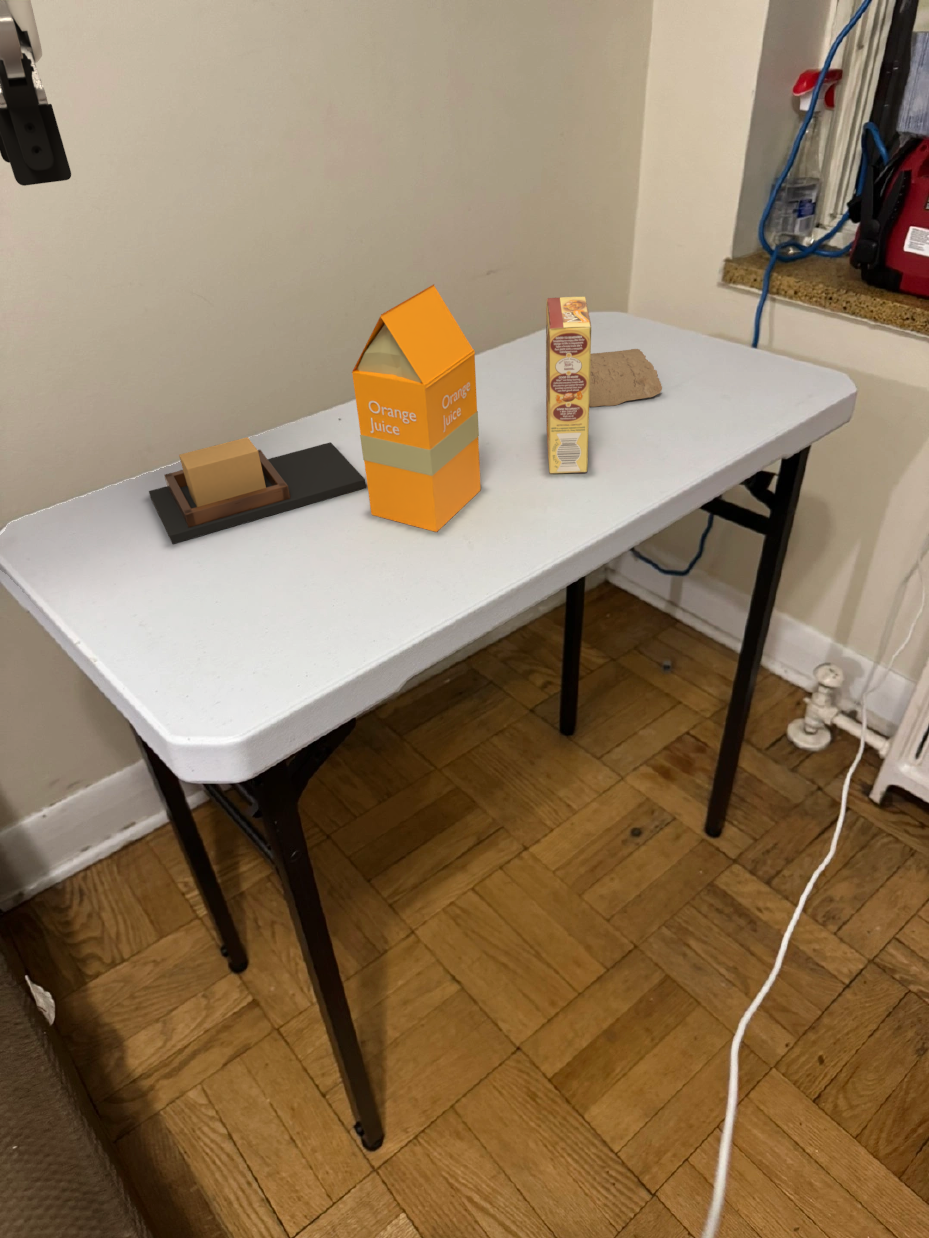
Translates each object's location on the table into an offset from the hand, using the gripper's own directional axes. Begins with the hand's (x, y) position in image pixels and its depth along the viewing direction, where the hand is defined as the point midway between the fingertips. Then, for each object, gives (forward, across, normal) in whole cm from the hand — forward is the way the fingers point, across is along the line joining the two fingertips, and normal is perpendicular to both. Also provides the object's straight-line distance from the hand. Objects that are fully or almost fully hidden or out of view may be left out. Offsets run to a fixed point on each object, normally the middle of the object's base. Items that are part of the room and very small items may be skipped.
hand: (36, 170), depth 56 cm
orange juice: (+33, -1, +26) cm, 42 cm away
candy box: (+33, -2, +43) cm, 54 cm away
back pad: (+33, -12, +12) cm, 37 cm away
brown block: (+32, -12, +9) cm, 35 cm away
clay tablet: (+33, -16, +58) cm, 69 cm away
